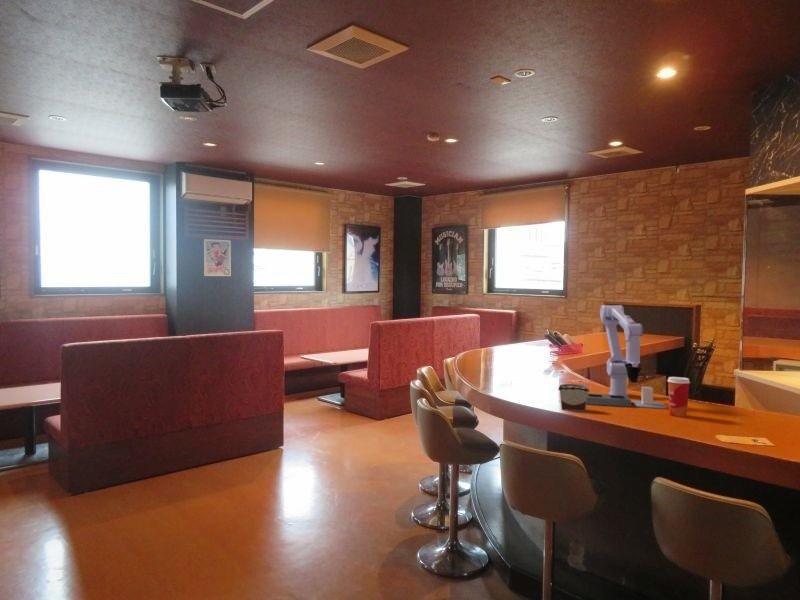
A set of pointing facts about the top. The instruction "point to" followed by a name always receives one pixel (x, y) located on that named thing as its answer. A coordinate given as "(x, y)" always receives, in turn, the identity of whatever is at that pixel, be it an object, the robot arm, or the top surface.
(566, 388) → the food container
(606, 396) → the metal frame
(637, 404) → the rubber pad
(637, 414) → the top surface
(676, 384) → the coffee cup
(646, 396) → the ivory plug
